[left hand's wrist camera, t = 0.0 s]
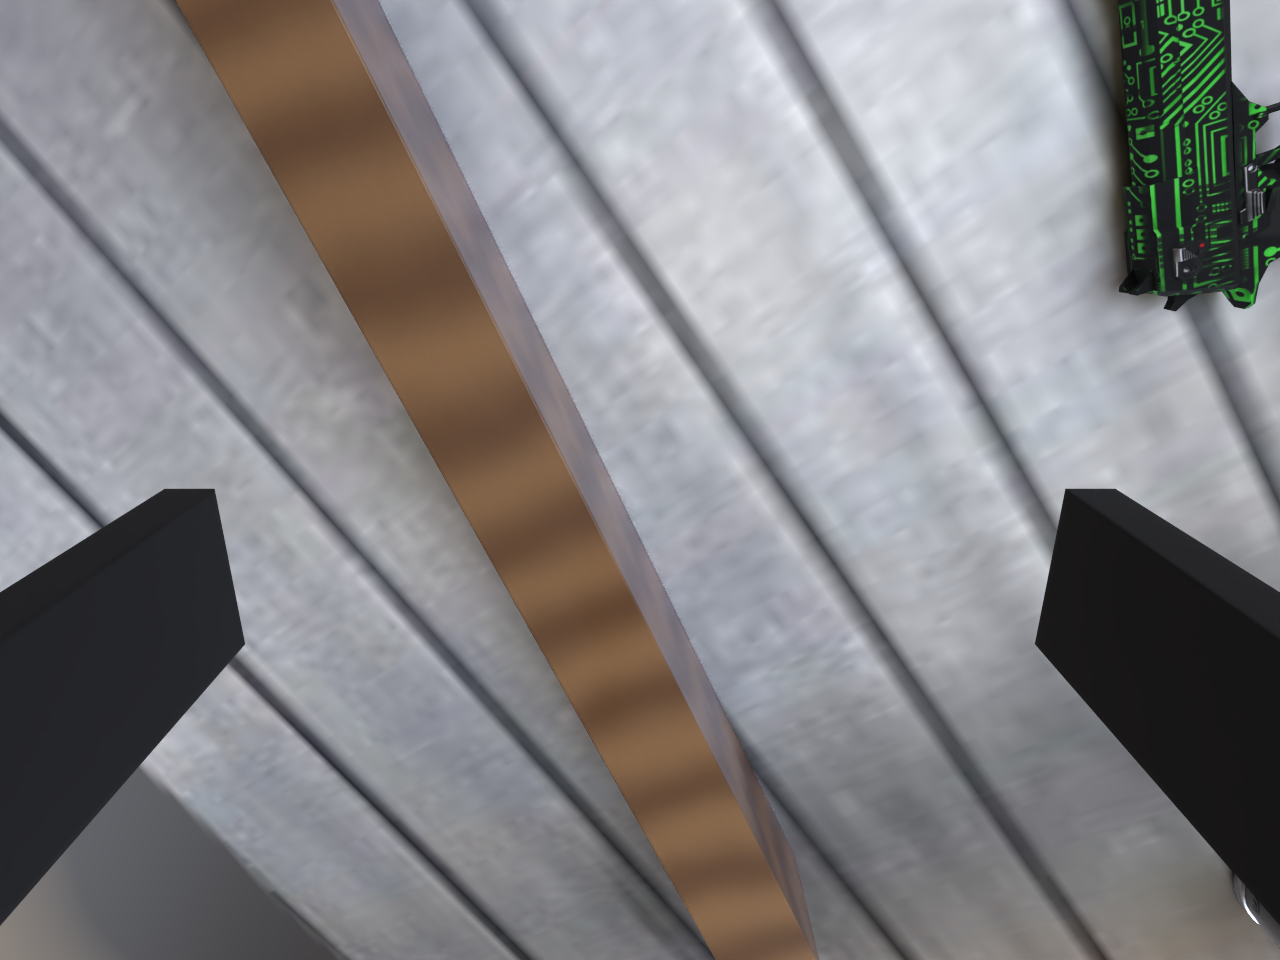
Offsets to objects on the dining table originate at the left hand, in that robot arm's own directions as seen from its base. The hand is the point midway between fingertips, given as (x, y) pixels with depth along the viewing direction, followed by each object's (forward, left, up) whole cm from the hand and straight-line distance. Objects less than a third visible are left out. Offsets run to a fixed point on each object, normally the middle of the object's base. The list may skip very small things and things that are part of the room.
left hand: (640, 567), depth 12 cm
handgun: (-8, +28, -28) cm, 40 cm away
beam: (+8, -5, -28) cm, 29 cm away
